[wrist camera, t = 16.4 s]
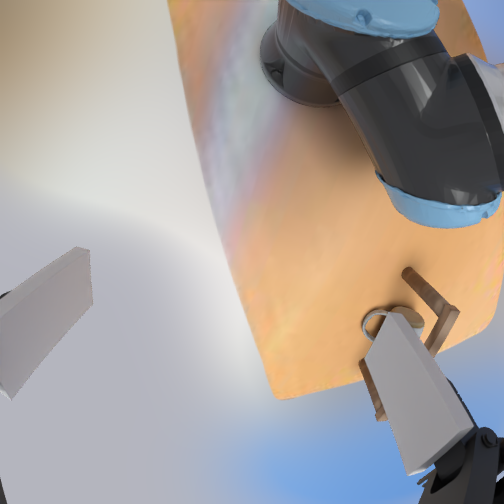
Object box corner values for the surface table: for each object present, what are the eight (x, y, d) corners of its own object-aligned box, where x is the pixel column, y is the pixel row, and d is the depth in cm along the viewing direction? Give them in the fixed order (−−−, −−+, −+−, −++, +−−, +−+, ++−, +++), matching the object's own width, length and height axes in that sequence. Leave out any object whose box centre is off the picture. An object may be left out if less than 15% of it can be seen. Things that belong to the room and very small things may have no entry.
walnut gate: (404, 265, 40) (450, 310, 27) (415, 268, 40) (461, 311, 27) (356, 366, 48) (376, 421, 35) (366, 367, 48) (387, 420, 35)
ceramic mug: (416, 305, 43) (434, 328, 36) (399, 340, 46) (413, 365, 39) (369, 299, 43) (385, 324, 36) (353, 337, 46) (364, 364, 38)
